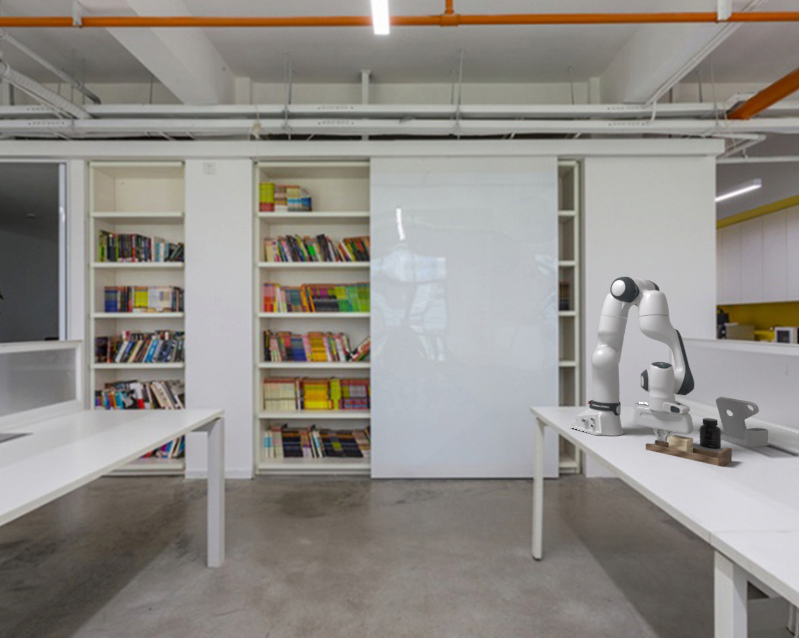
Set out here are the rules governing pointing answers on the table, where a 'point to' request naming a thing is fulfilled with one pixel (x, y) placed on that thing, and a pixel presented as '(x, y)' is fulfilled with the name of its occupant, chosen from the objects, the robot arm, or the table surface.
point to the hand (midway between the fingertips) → (661, 441)
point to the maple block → (681, 443)
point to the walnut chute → (694, 453)
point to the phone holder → (740, 423)
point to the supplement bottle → (710, 434)
